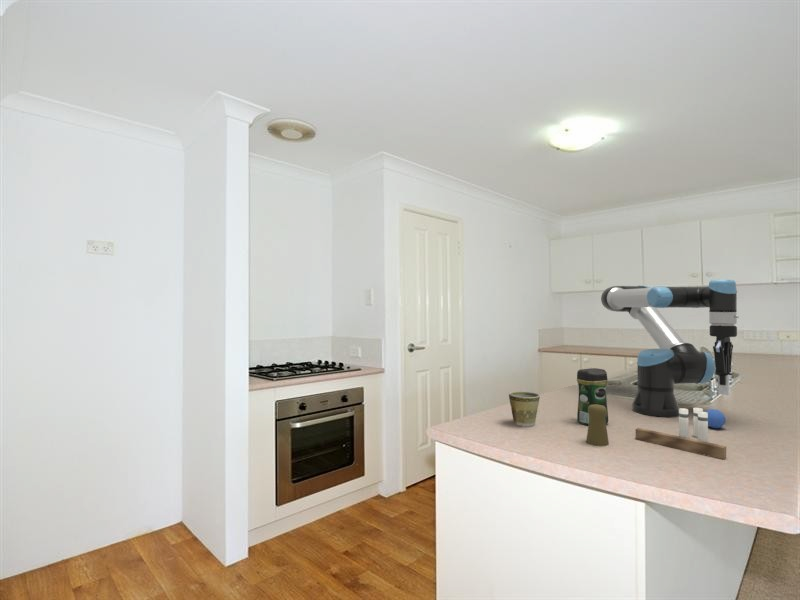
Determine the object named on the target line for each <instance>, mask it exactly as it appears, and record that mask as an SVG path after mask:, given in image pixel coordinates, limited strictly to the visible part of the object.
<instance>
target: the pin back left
mask: <svg viewBox="0 0 800 600" xmlns="http://www.w3.org/2000/svg"><path fill="white" fill-rule="evenodd" d="M678 436H680V437H684V438H689V409H688V408H684V407H679V415H678Z"/></svg>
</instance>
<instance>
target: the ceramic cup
mask: <svg viewBox="0 0 800 600" xmlns="http://www.w3.org/2000/svg"><path fill="white" fill-rule="evenodd" d="M540 396H541V395H540V394H538V393H536V392H531V391H511V392H509V393H508V397H509V404H510V408H511V415H512V422H513V423H514V425H516V426H518V427H523V428H525V427H527V428H530V427H533V426H535V424H536V421H537V414H538V409H539V406H540V405H539V404H540Z"/></svg>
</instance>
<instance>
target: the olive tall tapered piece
mask: <svg viewBox="0 0 800 600" xmlns="http://www.w3.org/2000/svg"><path fill="white" fill-rule="evenodd" d="M607 410H608V408H607V409H606V407H605V406H603V405H598V404H593V405H590V406H589V407H588V414H589V415H590V418H589V425H587V434H586V443H587V444H589V445H591V446H597V447H606V446H609V443H610V442H609V434H608V429H607V424H606V421H605V417H606V415H607Z"/></svg>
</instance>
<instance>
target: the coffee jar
mask: <svg viewBox="0 0 800 600" xmlns="http://www.w3.org/2000/svg"><path fill="white" fill-rule="evenodd" d="M608 381H609V380H608V373H607V371H606V369H602V368H597V367H596V368H595V367H593V368H592V367H591V368H582V369H578V370H577V373H576V382H577V384H578V401H577V416H576V417H577V422H578V423H580V424H582V425H583V426H584V425H586V426H588V425H589V418H590V415H589V414H588V407H589V406H590V405H593V404H598V405H603V406H605V407H606V409H607V415H606V417H605V421H606V425H607V424H608V423H609V412H608V401H607V385H608Z"/></svg>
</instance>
